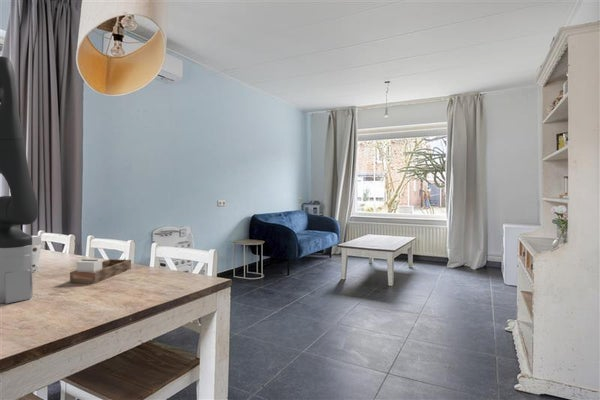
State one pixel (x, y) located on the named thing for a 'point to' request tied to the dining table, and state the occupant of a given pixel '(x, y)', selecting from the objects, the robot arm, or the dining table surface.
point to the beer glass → (35, 252)
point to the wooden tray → (101, 272)
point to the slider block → (89, 265)
